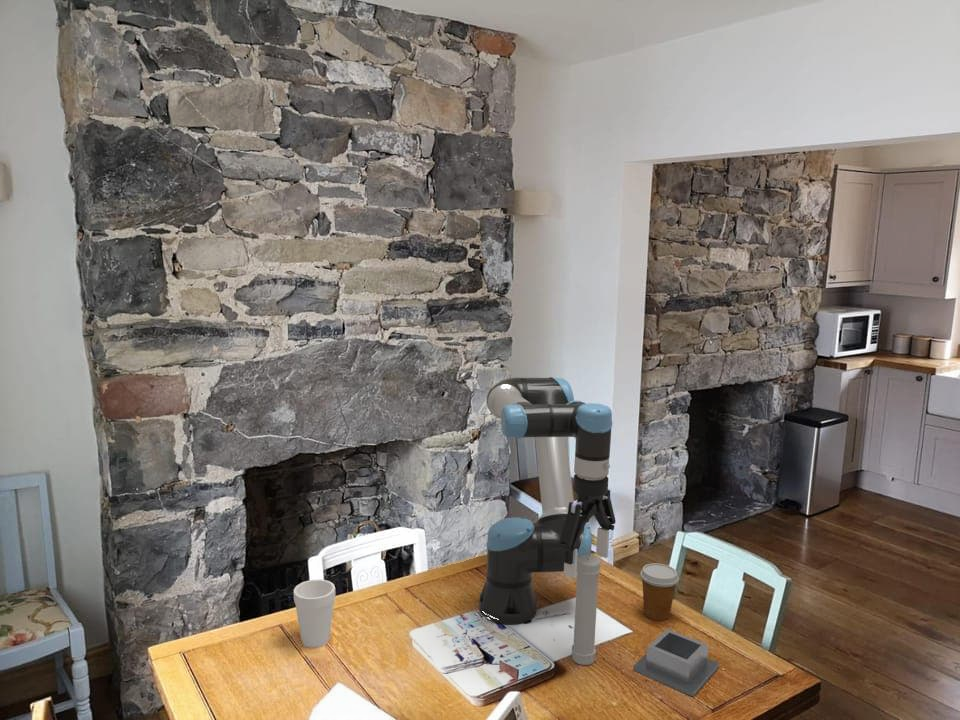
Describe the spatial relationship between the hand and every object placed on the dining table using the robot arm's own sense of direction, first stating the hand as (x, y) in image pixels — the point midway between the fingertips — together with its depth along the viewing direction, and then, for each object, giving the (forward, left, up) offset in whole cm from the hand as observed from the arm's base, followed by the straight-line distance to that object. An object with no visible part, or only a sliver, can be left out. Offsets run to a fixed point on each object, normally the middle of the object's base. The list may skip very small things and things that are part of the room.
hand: (586, 566), depth 158 cm
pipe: (0, 0, -23) cm, 23 cm away
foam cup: (-51, -36, -23) cm, 66 cm away
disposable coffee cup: (+4, +30, -23) cm, 38 cm away
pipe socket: (+18, +11, -23) cm, 31 cm away
